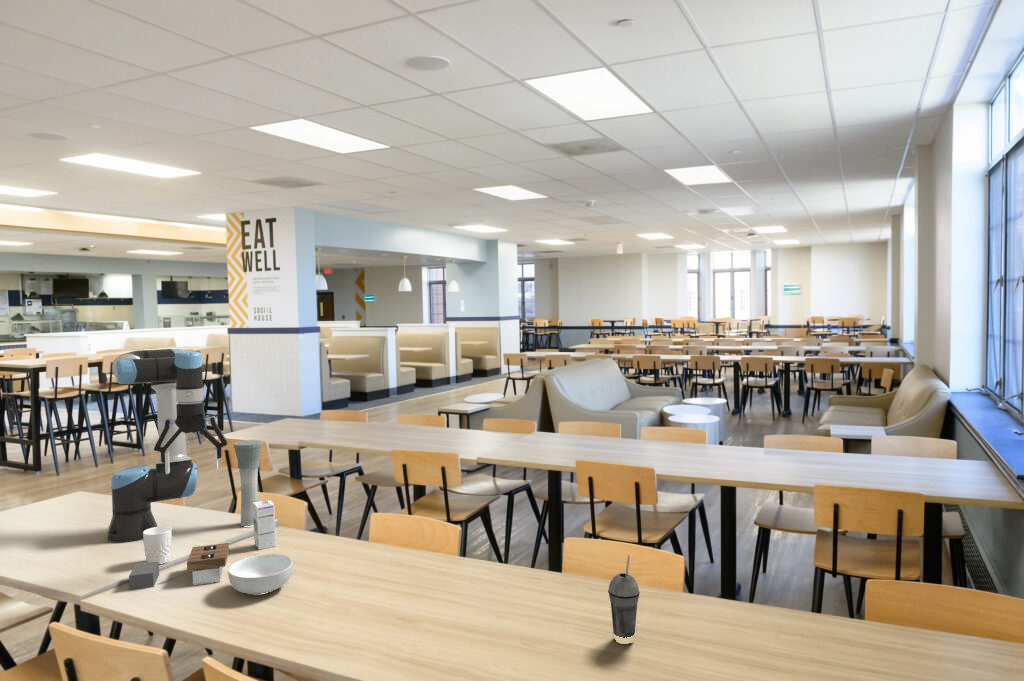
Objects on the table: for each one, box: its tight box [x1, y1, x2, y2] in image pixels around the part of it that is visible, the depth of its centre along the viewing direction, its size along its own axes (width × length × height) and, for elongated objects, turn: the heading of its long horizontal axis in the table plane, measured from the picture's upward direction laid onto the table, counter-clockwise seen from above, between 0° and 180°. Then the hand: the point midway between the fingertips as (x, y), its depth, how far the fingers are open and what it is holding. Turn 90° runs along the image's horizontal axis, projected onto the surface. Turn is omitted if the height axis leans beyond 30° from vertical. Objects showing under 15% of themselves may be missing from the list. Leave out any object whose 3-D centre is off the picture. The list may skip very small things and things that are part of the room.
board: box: [186, 542, 230, 572], centre depth 196 cm, size 13×10×2 cm
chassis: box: [192, 546, 224, 586], centre depth 196 cm, size 15×7×7 cm, turn 19°
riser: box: [128, 562, 160, 591], centre depth 191 cm, size 9×6×4 cm, turn 19°
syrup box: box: [253, 499, 277, 551], centre depth 219 cm, size 6×6×14 cm
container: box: [233, 439, 263, 526], centre depth 241 cm, size 10×10×30 cm
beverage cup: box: [607, 554, 641, 638], centre depth 154 cm, size 7×7×20 cm
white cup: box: [142, 525, 173, 564], centre depth 206 cm, size 8×8×10 cm
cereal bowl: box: [227, 553, 294, 595], centre depth 185 cm, size 17×17×7 cm
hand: (192, 471), depth 204 cm, fingers open, 13 cm apart
